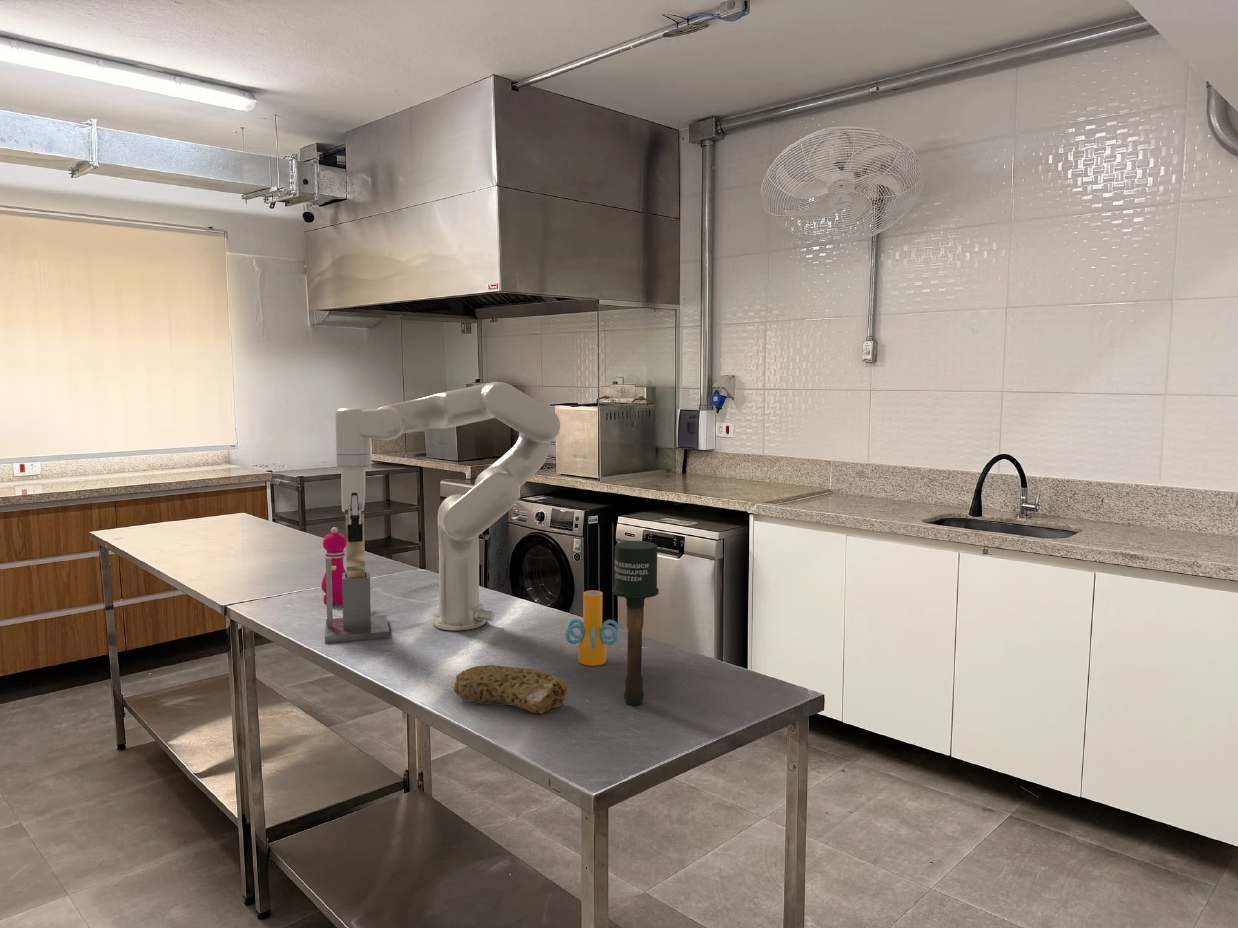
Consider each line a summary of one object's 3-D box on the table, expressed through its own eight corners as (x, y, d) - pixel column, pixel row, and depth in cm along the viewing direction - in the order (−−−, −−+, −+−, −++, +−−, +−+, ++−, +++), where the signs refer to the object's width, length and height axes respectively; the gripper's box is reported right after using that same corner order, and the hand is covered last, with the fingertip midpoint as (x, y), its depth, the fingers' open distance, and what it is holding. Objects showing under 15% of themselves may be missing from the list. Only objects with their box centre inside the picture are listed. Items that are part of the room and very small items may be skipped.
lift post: (365, 596, 196) (363, 513, 194) (365, 601, 193) (364, 516, 191) (347, 597, 195) (345, 514, 193) (347, 602, 191) (345, 517, 189)
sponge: (571, 708, 155) (492, 666, 165) (573, 673, 152) (493, 633, 162) (524, 745, 144) (443, 698, 154) (526, 709, 141) (443, 663, 152)
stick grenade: (601, 701, 154) (603, 544, 151) (633, 690, 160) (636, 538, 157) (633, 715, 148) (636, 551, 145) (666, 702, 154) (669, 544, 151)
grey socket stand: (386, 620, 204) (385, 548, 202) (389, 637, 190) (388, 561, 188) (326, 625, 199) (324, 551, 197) (324, 643, 186) (322, 564, 184)
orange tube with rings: (629, 659, 178) (630, 591, 176) (604, 674, 169) (604, 602, 167) (581, 649, 184) (582, 583, 182) (554, 663, 175) (555, 594, 173)
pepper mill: (354, 598, 223) (353, 525, 221) (343, 605, 216) (341, 530, 214) (329, 597, 224) (327, 524, 222) (316, 604, 217) (314, 529, 215)
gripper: (336, 458, 197) (338, 533, 199) (335, 465, 181) (337, 547, 183) (369, 457, 200) (371, 532, 201) (371, 464, 184) (373, 545, 186)
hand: (355, 538), depth 192 cm, fingers closed on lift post, 4 cm apart
